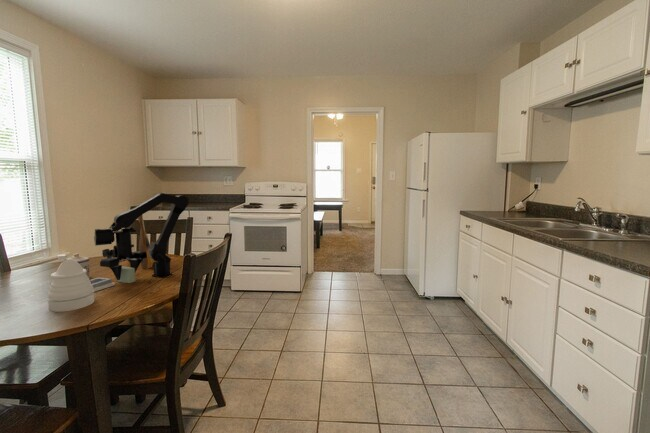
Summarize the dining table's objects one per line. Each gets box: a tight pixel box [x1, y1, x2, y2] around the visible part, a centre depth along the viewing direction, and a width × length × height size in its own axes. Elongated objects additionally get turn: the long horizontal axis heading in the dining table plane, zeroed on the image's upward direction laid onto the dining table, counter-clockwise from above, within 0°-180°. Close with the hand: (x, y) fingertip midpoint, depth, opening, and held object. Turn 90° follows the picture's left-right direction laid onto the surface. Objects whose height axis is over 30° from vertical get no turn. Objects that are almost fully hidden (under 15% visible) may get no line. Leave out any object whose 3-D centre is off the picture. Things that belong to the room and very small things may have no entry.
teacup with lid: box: [69, 252, 91, 279], centre depth 144 cm, size 12×9×12 cm
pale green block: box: [116, 266, 136, 284], centre depth 141 cm, size 7×3×6 cm, turn 74°
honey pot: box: [47, 254, 95, 312], centre depth 114 cm, size 13×13×18 cm
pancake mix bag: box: [137, 214, 154, 270], centre depth 166 cm, size 7×19×28 cm, turn 28°
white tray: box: [89, 276, 115, 293], centre depth 132 cm, size 10×12×2 cm
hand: (125, 277), depth 142 cm, fingers open, 7 cm apart
